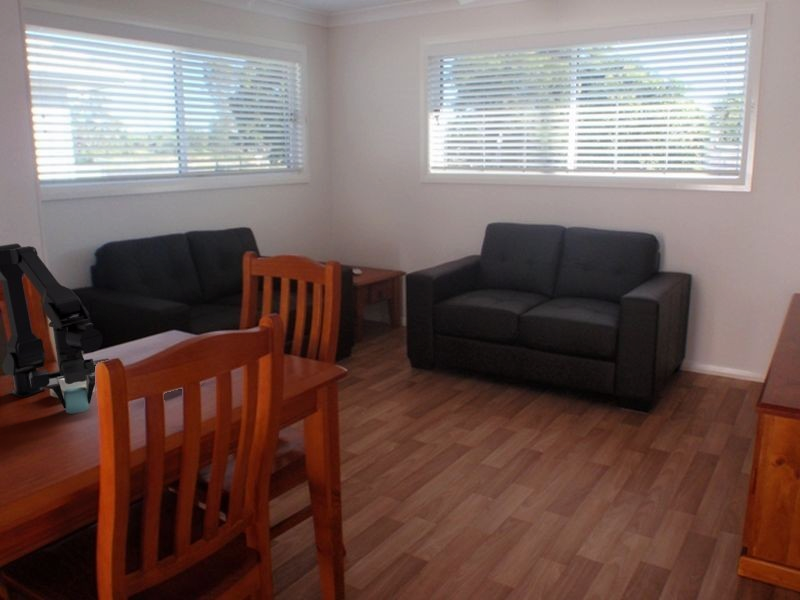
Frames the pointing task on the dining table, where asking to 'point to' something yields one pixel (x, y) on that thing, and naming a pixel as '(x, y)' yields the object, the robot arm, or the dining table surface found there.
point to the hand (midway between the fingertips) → (77, 405)
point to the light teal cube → (76, 400)
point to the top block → (68, 386)
